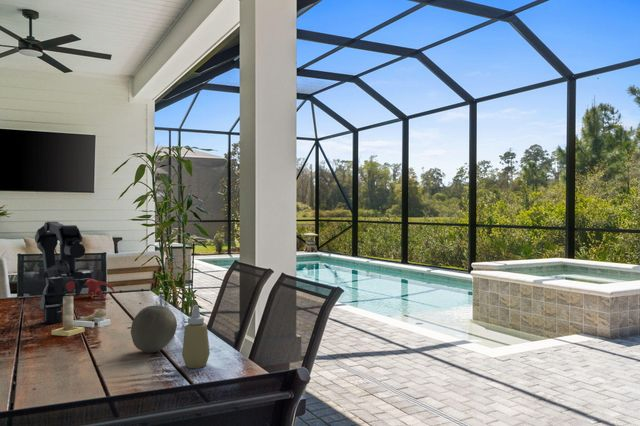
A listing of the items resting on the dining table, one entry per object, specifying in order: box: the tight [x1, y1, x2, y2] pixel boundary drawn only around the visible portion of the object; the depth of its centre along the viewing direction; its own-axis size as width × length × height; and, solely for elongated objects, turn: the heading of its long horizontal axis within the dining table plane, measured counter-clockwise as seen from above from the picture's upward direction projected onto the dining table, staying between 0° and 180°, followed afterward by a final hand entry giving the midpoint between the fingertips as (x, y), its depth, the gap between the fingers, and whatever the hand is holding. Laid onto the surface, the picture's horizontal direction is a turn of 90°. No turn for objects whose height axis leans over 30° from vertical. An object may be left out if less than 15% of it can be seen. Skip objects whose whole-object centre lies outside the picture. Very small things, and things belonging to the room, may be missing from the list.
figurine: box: [75, 308, 107, 322], centre depth 212 cm, size 4×4×15 cm
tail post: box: [62, 295, 75, 331], centre depth 196 cm, size 4×4×14 cm
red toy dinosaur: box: [65, 278, 115, 299], centre depth 282 cm, size 28×9×15 cm
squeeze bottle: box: [181, 304, 211, 369], centre depth 152 cm, size 8×8×18 cm
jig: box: [51, 316, 111, 337], centre depth 204 cm, size 16×23×2 cm
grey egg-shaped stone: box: [130, 305, 178, 354], centre depth 169 cm, size 14×14×15 cm
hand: (67, 296), depth 203 cm, fingers open, 9 cm apart
